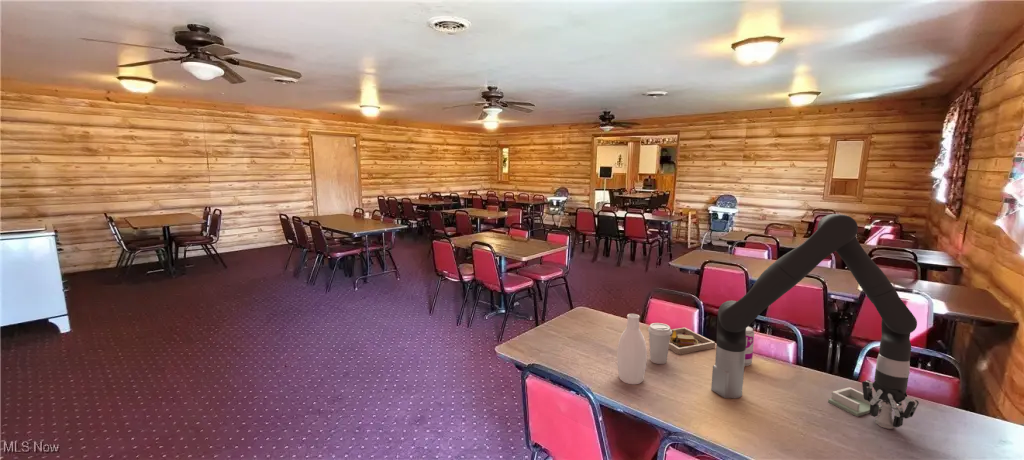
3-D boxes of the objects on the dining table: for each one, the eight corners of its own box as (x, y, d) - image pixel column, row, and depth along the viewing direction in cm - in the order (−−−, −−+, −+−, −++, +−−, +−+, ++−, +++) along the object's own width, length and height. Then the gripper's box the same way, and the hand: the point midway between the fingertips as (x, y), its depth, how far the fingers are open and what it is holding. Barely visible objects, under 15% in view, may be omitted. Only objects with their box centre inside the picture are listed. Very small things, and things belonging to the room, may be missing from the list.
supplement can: (754, 367, 168) (757, 332, 166) (732, 365, 170) (735, 330, 168) (747, 358, 176) (750, 324, 174) (726, 356, 178) (729, 323, 176)
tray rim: (678, 354, 180) (679, 349, 180) (650, 337, 198) (650, 332, 198) (714, 347, 187) (715, 342, 187) (684, 332, 205) (684, 327, 204)
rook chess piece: (871, 421, 132) (874, 398, 131) (884, 420, 133) (887, 397, 132) (884, 430, 128) (888, 406, 127) (898, 429, 128) (901, 405, 127)
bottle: (651, 378, 160) (654, 315, 156) (637, 389, 152) (640, 323, 148) (624, 369, 168) (626, 308, 164) (610, 379, 160) (612, 315, 156)
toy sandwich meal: (698, 340, 196) (699, 330, 195) (698, 351, 184) (698, 341, 183) (670, 335, 201) (671, 326, 201) (668, 346, 189) (668, 336, 188)
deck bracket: (857, 416, 135) (858, 406, 134) (828, 402, 143) (829, 392, 143) (880, 409, 139) (882, 399, 138) (851, 395, 147) (852, 386, 147)
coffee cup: (645, 363, 172) (647, 329, 170) (647, 353, 181) (648, 321, 179) (670, 367, 169) (672, 332, 167) (670, 357, 178) (672, 324, 175)
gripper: (858, 362, 133) (851, 411, 136) (913, 383, 120) (905, 437, 122) (873, 358, 136) (867, 406, 138) (929, 379, 122) (921, 432, 125)
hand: (885, 420), depth 130 cm, fingers open, 5 cm apart
